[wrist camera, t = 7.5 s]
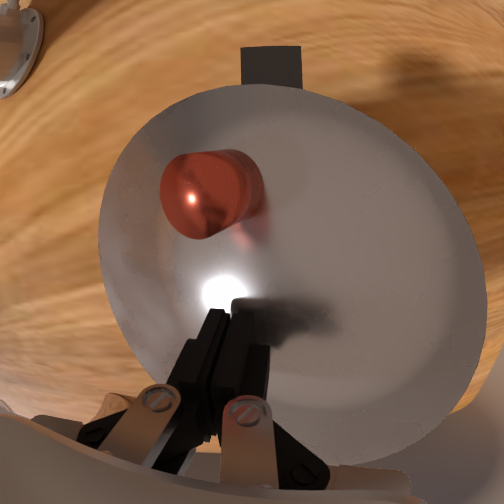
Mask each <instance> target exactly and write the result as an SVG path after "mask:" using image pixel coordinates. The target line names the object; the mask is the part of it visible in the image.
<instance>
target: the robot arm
mask: <svg viewBox="0 0 504 504" xmlns="http://www.w3.org/2000/svg"><path fill="white" fill-rule="evenodd" d="M19 1H20V0H8V4H7V3H4V4H2V5H0V99H3V98H7V97H9V96H11V95H12V94H13V93H14V92H16V90H17V89H18V88H19V87H20V86H21V85H22V83H23V82H24V80H25V79H26V78H27V76H28V74H29V72H30V71H31V69H32V67H33V65H34V63H35V60H36V58H37V55H38V53H39V50H40V46H41V43H42V38H43V32H44V20H43V17H42V14H41V13H40V12H39V11H38V10H36V9H32V8H25V9H23V10H20V5H19ZM269 372H270V345H262V344H254V314H253V311H251V310H238V313H233V315H232V318H231V317H230V313H226V311H225V309H219V308H210V310H209V312H208V314H207V316H206V318H205V320H204V323H203V325H202V327H201V329H200V332H199V334H198V336H197V338H196V339H191V338H189V339H187V341H186V342H185V344H184V347H183V349H182V351H181V353H180V355H179V357H178V359H177V361H176V363H175V365H174V367H173V369H172V371H171V373H170V376H169V378H168V380H167V382H166V384H154V385H151V386H149V387H147V388H145V389H144V390H143V391H142V392H141V393H140V394H139V395H138V397H137V398H136V399H135V400H134V402H133V403H132V404H131V406H130V407H129V408H128V409H125V410H123V411H120V412H117V413H114V414H112V415H109V416H106V417H103V418H100V419H98V420H95V421H92V422H89V423H87V424H85V425H83V423H82V422H79V421H73V420H67V419H62V418H57V417H52V416H47V415H38V416H35V417H34V418H32V419H31V420H28V419H25V418H23V417H19V416H15V415H9V414H0V504H428V503H426V502H425V501H423V500H421V499H419V498H415V497H413V496H410V491H411V482H410V479H409V477H408V476H407V475H406V474H405V473H403V472H402V471H398V470H389V469H377V468H365V467H356V466H348V465H341V464H339V466H332V465H326V463H325V462H324V461H323V460H321V459H320V458H319V457H317V456H316V455H315V454H314V453H312V452H311V451H310V450H309V449H307V448H306V447H305V446H304V445H302V444H301V443H300V442H299V441H297V440H296V439H295V438H294V437H293V436H291V435H290V434H289V433H288V432H287V431H285V430H284V429H283V428H282V427H281V426H280V425H278V424H277V423H276V422H275V421H274V420H273V419H272V410H271V407H270V405H269V404H268V403H267V402H266V399H267V390H268V382H269ZM217 434H218V439H219V444H220V447H221V464H220V483H214V482H207V481H202V480H197V479H192V478H187V477H183V475H184V473H185V471H186V469H187V467H188V466H189V464H190V462H191V460H192V458H193V456H194V454H195V451H196V447H197V446H199V445H201V444H203V441H204V442H210V439H211V435H214V436H216V435H217Z"/></svg>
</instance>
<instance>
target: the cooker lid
mask: <svg viewBox="0 0 504 504" xmlns="http://www.w3.org/2000/svg"><path fill="white" fill-rule="evenodd" d="M98 248H99V258H100V267H101V272H102V277H103V282H104V286H105V289H106V293H107V296H108V300H109V303H110V305H111V308H112V311H113V313H114V316H115V318H116V321H117V323H118V325H119V327H120V329H121V331H122V333H123V335H124V337H125V339H126V341H127V342H128V344H129V346H130V348H131V349H132V351H133V353H134V354H135V356H136V357H137V359H138V360H139V362H140V363H141V364H142V366H143V367H144V369H145V370H146V371H147V373H148V374H149V375H150V376H151V377H152V379H153V380H154V381H155V382H156V384H166V382H167V380H168V378H169V376H170V373H171V371H172V369H173V367H174V365H175V363H176V361H177V359H178V357H179V355H180V353H181V351H182V349H183V347H184V344H185V342H186V341H187V339H189V338H191V339H196V338H197V336H198V334H199V332H200V329H201V327H202V325H203V323H204V320H205V318H206V316H207V314H208V312H209V310H210V308H219V309H225V311H226V313H230V317H231V318H232V315H233V313H238V310H251V311H253V314H254V344H262V345H270V372H269V382H268V390H267V399H266V402H267V403H268V404H269V405H270V407H271V410H272V419H273V420H274V421H275V422H276V423H277V424H278V425H280V426H281V427H282V428H283V429H284V430H285V431H287V432H288V433H289V434H290V435H291V436H293V437H294V438H295V439H296V440H297V441H299V442H300V443H301V444H302V445H304V446H305V447H306V448H307V449H309V450H310V451H311V452H312V453H314V454H315V455H316V456H317V457H319V458H320V459H321V460H323V461H324V462H325V463H326V465H332V466H339V464H341V465H353V464H360V463H364V462H369V461H372V460H376V459H380V458H383V457H386V456H388V455H390V454H393V453H396V452H398V451H400V450H402V449H404V448H406V447H408V446H410V445H411V444H413V443H415V442H417V441H418V440H420V439H421V438H422V437H424V436H425V435H426V434H428V433H429V432H430V431H432V430H433V429H434V428H436V426H437V425H439V424H440V422H442V421H443V419H444V418H445V417H446V416H447V415H448V414H449V413H450V412H451V411H452V410H453V408H454V407H455V406H456V404H457V403H458V401H459V400H460V398H461V397H462V396H463V394H464V393H465V391H466V389H467V387H468V385H469V383H470V381H471V379H472V377H473V375H474V372H475V370H476V368H477V366H478V363H479V359H480V355H481V351H482V348H483V343H484V339H485V334H486V321H487V293H486V285H485V277H484V270H483V265H482V262H481V258H480V255H479V252H478V249H477V246H476V243H475V240H474V237H473V234H472V231H471V229H470V226H469V224H468V222H467V220H466V219H465V217H464V215H463V213H462V211H461V209H460V208H459V206H458V204H457V202H456V201H455V199H454V197H453V196H452V194H451V192H450V191H449V189H448V188H447V186H446V185H445V184H444V183H443V181H442V180H441V179H440V178H439V176H438V175H437V174H436V173H435V172H434V170H433V169H432V168H431V167H430V166H429V165H428V163H427V162H426V161H425V160H424V159H423V158H422V157H421V156H420V154H419V153H418V152H416V151H415V150H414V149H413V148H412V147H411V146H409V145H408V144H407V143H406V142H405V141H403V140H402V139H401V138H400V137H398V136H397V135H396V134H395V133H393V132H392V131H391V130H390V129H388V128H387V127H386V126H384V125H383V124H382V123H380V122H378V121H376V120H375V119H373V118H371V117H369V116H368V115H366V114H364V113H362V112H360V111H358V110H356V109H354V108H353V107H351V106H349V105H347V104H345V103H343V102H341V101H338V100H335V99H332V98H329V97H326V96H323V95H319V94H316V93H313V92H310V91H306V90H303V89H299V88H292V87H284V86H276V85H267V84H250V85H234V86H225V87H221V88H217V89H212V90H208V91H205V92H201V93H197V94H195V95H192V96H190V97H188V98H186V99H183V100H181V101H179V102H177V103H175V104H173V105H171V106H169V107H168V108H166V109H165V110H163V111H162V112H161V113H159V114H158V115H156V116H155V117H153V118H152V119H151V120H150V121H149V122H148V123H146V124H145V125H144V126H143V127H142V128H141V129H140V130H139V131H138V132H137V133H136V134H135V135H134V136H133V138H132V139H131V140H130V142H129V143H128V144H127V146H126V147H125V149H124V150H123V151H122V153H121V154H120V156H119V158H118V160H117V162H116V164H115V166H114V168H113V170H112V171H111V174H110V177H109V180H108V182H107V185H106V188H105V191H104V195H103V200H102V204H101V209H100V217H99V228H98ZM217 435H218V434H217Z"/></svg>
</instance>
